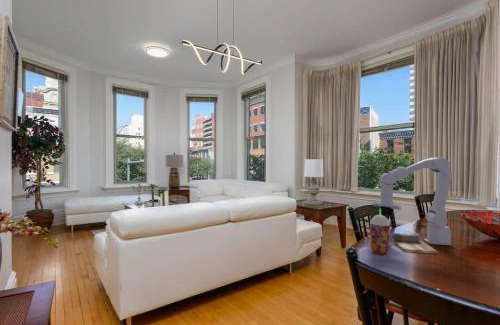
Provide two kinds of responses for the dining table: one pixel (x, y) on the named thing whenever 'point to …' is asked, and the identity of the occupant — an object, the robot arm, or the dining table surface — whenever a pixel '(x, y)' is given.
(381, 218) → the smoothie
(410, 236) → the leg
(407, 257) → the dining table surface
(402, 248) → the board
